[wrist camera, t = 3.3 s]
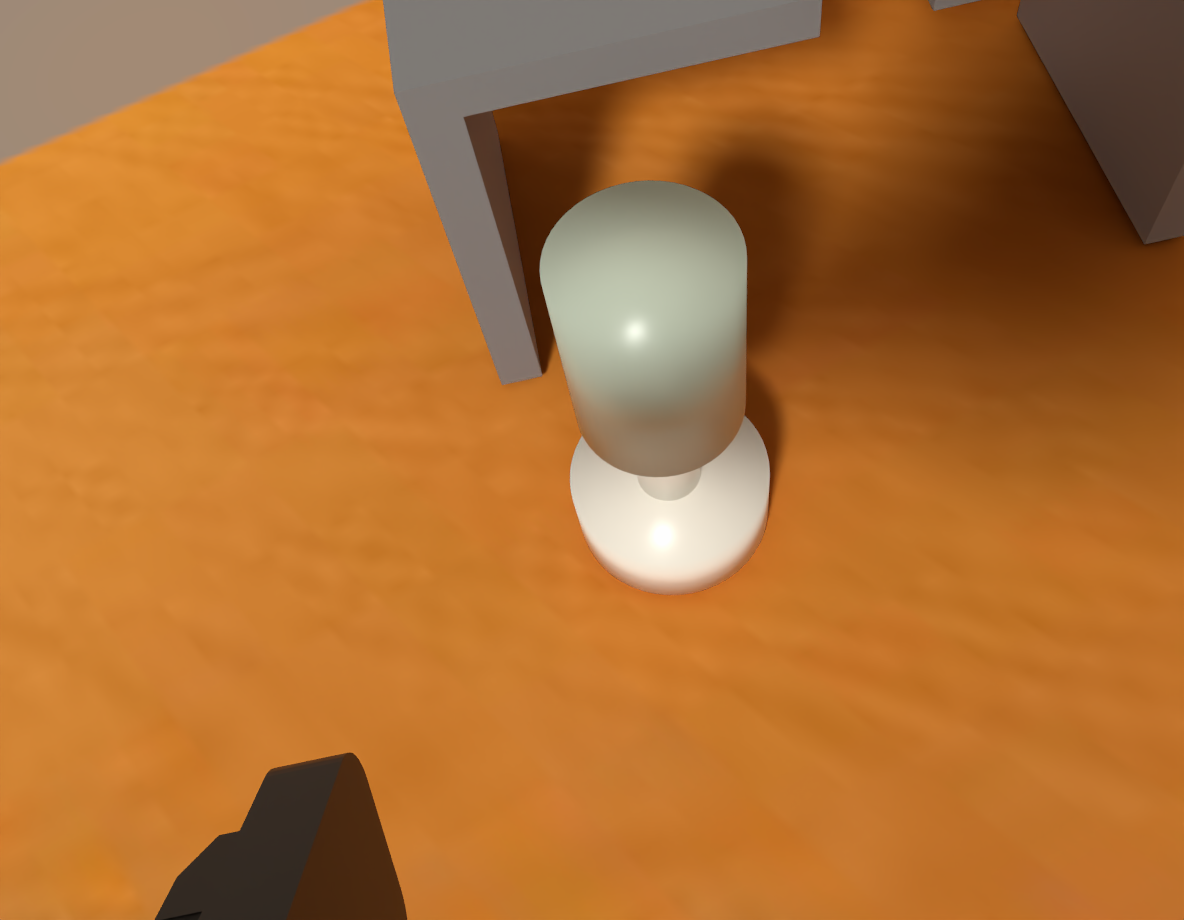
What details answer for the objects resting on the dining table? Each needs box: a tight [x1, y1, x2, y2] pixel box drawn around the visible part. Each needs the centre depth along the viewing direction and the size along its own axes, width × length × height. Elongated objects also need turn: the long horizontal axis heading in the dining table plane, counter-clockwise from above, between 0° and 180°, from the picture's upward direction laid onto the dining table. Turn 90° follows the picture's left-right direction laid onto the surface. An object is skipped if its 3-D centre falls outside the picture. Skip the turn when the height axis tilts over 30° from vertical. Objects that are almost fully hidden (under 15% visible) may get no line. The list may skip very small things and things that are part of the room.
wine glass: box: [540, 181, 770, 595], centre depth 24 cm, size 5×5×10 cm
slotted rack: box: [383, 0, 1184, 385], centre depth 29 cm, size 20×10×11 cm, turn 100°
